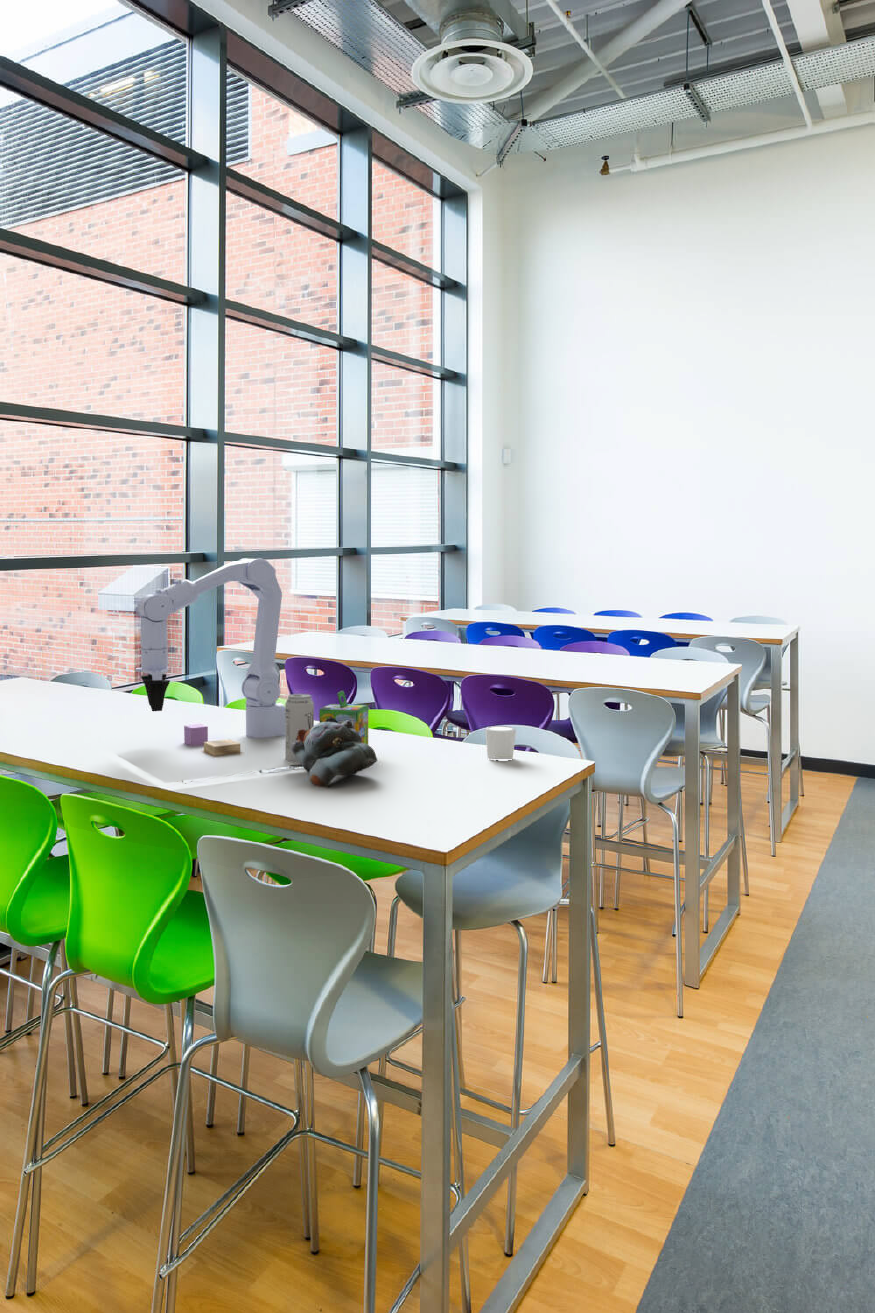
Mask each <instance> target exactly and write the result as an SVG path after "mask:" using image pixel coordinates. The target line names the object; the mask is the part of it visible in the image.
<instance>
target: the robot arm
mask: <svg viewBox="0 0 875 1313" xmlns="http://www.w3.org/2000/svg"><path fill="white" fill-rule="evenodd" d="M276 570H277V569H276V568H275V567H274V566H273V565H272V564H271V563H270V562H269V561H268V560H266V559H264V558H244V557H243V558H241V559H238V560H237V561H235V560H234V561H232V562H229V563H226V564H224V565H222V566H220V567H219V568H217V569H215V570H213V571H211V572H208V573H206V574H205V575H203V576H201V577H199V578H196V579H195V580H193V581H190V580H189V579H180V578H178V579H175V580H173V583H174V584H171V585H169V586H166V587H165V588H162V589H161V588H158V589H155V590H154V592H155V594H146V595H144V596H142V597H141V598H140V599H139V600H138V602H137V604H136V605H137V606H135V610H136V614H137V615H138V616H139V619H140V628H139V630H140V631H139V632H140V633H139V634H140V662H141V663H140V666H141V667H136V668H135V672H137V673H144V674H142V675H140V678H141V680H142V683H143V685H144V687H145V691H146V695H147V701H148V705H149V706H150V709H151V711H152V712H162V711H163V709H164V702H165V696H166V692H167V690H168V687H169V684H170V683H171V680H170V679H166V678H167V674H166V673H167V672H168V673H169V671H170V667H169V658H168V624H167V623H168V622H167V620H168V618H169V617H170V615H171V614H174V613H175V612H176V613H177V611H180V610H182V609H184V608H187V607H188V606H190V605H193V604H195V603H196V602H197V601H198V599H199V596H200V595H201V594H203V593H205V592H208V591H211V590H213V589H216V588H217V587H220V586H222V585H224V584H227V583H230V582H236V583H239V584H240V585H243V586H244V587H246V588H247V589H249V590H250V591H251V592H252V593H253V594H254V595H255V596H256V598H257V599H258V603H257V614H256V620H255V621H256V622H255V632H254V640H253V641H254V642H253V649H252V650H253V651H252V659H251V664H250V666H249V667H248V668H247V670H246V675H245V678H244V680H243V682H242V685H241V693H242V695H243V697H245V698H246V699H245V700H246V701H245V736H246V737H247V738H254V739H266V738H273V737H279V736H284V737H285V705H284V704H283V703H281V702H277V701H278V700H279V698H280V696H281V687H280V683H279V673H278V671H277V668H276V666H275V662H276V655H277V653H276V652H277V643H278V633H279V627H280V626H279V624H280V616H281V608H282V607H281V605H282V598H283V597H282V596H283V595H282V594H283V592H282V590H281V587H280V584H279V582H278V579H277V578H278V577H277V576H276V572H277V571H276Z"/></svg>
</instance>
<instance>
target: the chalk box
mask: <svg viewBox="0 0 875 1313" xmlns="http://www.w3.org/2000/svg"><path fill="white" fill-rule="evenodd" d="M337 698H338V699H337V700H338V703H330V704H327V705H325V706H323V707H320V708H319V723H321V722H325V721H326V720H327V719H328V718H330V717H331V718H334V719H336V720H337V721H338V722H339V723H340V724H342V723H343V722H344V721H346V720H349V721H350V722H352V725H353V728H354V730H356V731H357V733H358V734H359V736H360V737H361V740H362V743H365V744H367V745H369V705H368V704H353V703H348V702H347V698H346V694H345V691H344V690H341V691H339V692H337ZM342 699H343V701H342Z"/></svg>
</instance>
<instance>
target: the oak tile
mask: <svg viewBox="0 0 875 1313" xmlns="http://www.w3.org/2000/svg"><path fill="white" fill-rule="evenodd" d="M203 751H205V752H207V753H209V754H212V755H214V756H215V757H218V756H217V755H223V756H226V755H225V754H231V755H234V754H233V753H239V754H241V753H240V751H241V743H239V742H237V741H235V740H233V739H229V738H228V739H227V738H226V739H220V740H211V741H209V740H208V742H204V744H203ZM207 753H206V754H207ZM209 754H208V755H209ZM214 756H213V757H214Z"/></svg>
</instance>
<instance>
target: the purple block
mask: <svg viewBox="0 0 875 1313" xmlns="http://www.w3.org/2000/svg"><path fill="white" fill-rule="evenodd" d="M208 727H209V726H207V725H205V724H202V723H196V724H187V725H183V731H184V732H183V734H184V735H183V736H184V737H183V739H184V741H183V742H184V744H186V745H189V746H191V747H192V746H201V745H204V742H209V732H208V731H209V728H208Z"/></svg>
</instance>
